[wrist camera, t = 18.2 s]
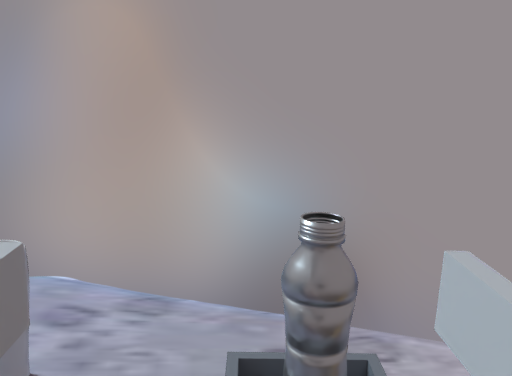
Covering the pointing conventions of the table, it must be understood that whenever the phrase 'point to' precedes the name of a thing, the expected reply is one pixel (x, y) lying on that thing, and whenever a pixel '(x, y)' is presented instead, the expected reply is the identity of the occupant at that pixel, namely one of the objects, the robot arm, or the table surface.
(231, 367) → the tray
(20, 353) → the drinking glass
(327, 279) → the silver metal bottle
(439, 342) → the table surface
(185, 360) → the table surface
